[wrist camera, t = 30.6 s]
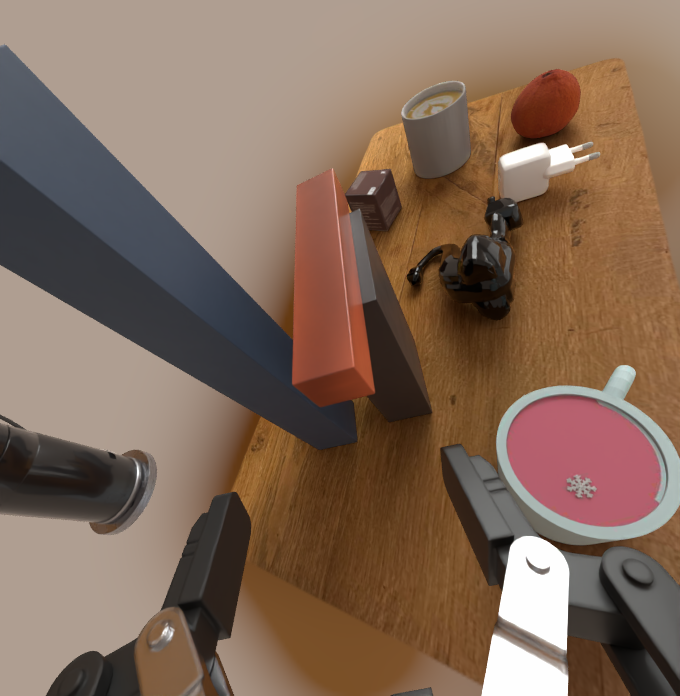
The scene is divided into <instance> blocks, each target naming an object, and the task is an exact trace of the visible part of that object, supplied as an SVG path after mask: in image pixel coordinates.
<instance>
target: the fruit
mask: <svg viewBox="0 0 680 696" xmlns="http://www.w3.org/2000/svg"><path fill="white" fill-rule="evenodd" d="M580 94H581V91H580V86H579V83H578V81H577V79H576V78H575V77H574V75H572V74H570V73H569V72H567V71H563V70H560V69H555V70H551V71H548V72H545V73H543V74H541V75H539V76H538V77H536V78H535V79H534V80H532V81H531V82H530V83H529V84H528V85H527V86H526V87H525V89H524V90H523V91H522V92H521V94H520V95H519V96H518V98H517V100H516V101H515V104H514V106H513V109H512V112H511V121H512V124H513V127H514V129H515V130H516V132H517V133H518V134H519V135H522V136H524V137H527V138H541V137H545V136H549V135H552V134H554V133H556V132H558V131H560V130H562V129H563V128H564V127H565V126H566V125H567V124H568V123H569V121H570V120H571V119H572V118H573V117H574V115H575V114H576V112H577V110H578V107H579V102H580Z"/></svg>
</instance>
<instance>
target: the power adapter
mask: <svg viewBox="0 0 680 696" xmlns="http://www.w3.org/2000/svg"><path fill="white" fill-rule="evenodd" d="M592 146H593V142H588V143H585V144H582V145H579V146H576V147H573V148H568V146H567V145H566V144H565V145H562V146H559V147H555V148H552V149H549V150H548V148H547V146H546V144H545V143H538V144H535V145H532V146H528V147H525V148H522V149H519V150H517V151H514V152H511V153H508V154H506V155H503V156H502V157H501V158H500V159H499V161H498V189H499V194H500V197H501V199H502V198H511V199H513V200H515V202H518V201H522V200H525V199H529V198H532V197H536V196H539V195H542V194H543V193H545V192H546V191H547V189H548V185H549V179H550V178H552V177H555V176H558V175H562V174H565V173H568V172H572V171H573V170H574V169H575V165H577V164H579V163H582V162H586V161H590V160H593V159H596V158H598V157H599V156H600V153H599V152H596V153H593V154H589V155H587V156H584V157H581V158H576V159H574V156H573V155H572V153H574V152H578V151H581V150H585V149H588V148H591V147H592Z"/></svg>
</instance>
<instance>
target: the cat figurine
mask: <svg viewBox="0 0 680 696" xmlns="http://www.w3.org/2000/svg"><path fill="white" fill-rule="evenodd" d="M484 219H485V221H486V223H487V226H488V228H489V231H490V237H488V236H486V235H481V234H475V235H471V236H470V237H469V238H468V239H467V240H466V242H465V243H464V245H463V246H462V249H461V250H460V248H459V247H458V246H457V245H456V244H444V245H441V246H438V247H436V248H434V249H432V250H431V251H430V252H429V253H428V254H427V255H426V256H425V257H424V258H423V259H422V260H421V261H420V262H419V263H418V265H417V266H416V267H414V268H412V269H411V270H410V271H409V273H408V274H407V279H408V281H409V283H410V284H411V286H415V285H418V284H420V283H421V281H422V275H423V267H424V266H425V265H426V264H427V263H428V262H429V260H431V259H432V258H433V257H434V256H436V255H438V254H442V257H441V261H440V267H439V278H440V283H441V285H442V287H443V288H444V290H445V292H446V294H447V295H448V297H450V298H451V299H453V300H454V301H455V302H458V303H472V304H473V305H474V306H475V307H476V308H477V310H478V311H479V313H480V314H482V315H483V316H485V317H487V318H489V319H493V320H501V319H503V318H504V317H505V316H506V315H507V314H508V313H509V311H510V308H511V307H510V305H511V303H512V302H513V300H514V295H515V286H516V285H515V280H514V273H515V267H516V254H515V251H514V249H513V247H512V246H511V244H510V243H509V242H510V239H511V231H512V230H515V229H517V228H519V227H521V226H522V225H523V218H522V214H521V212H520V209H519V207H518V205H517V203H516V202H515V200H513V199H511V198H502V199H499V200H497V201H495V197H493V196H492V197H490V198H488V200H487V209H486V212H485V217H484Z"/></svg>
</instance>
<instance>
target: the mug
mask: <svg viewBox="0 0 680 696" xmlns="http://www.w3.org/2000/svg"><path fill="white" fill-rule="evenodd" d="M635 376H636V373H635V370H634V369H633V368H632V367H630V366H627V365H621V366H618V367H617V368H616V369H615V371H614V372H613V374H612V376H611V377H610V379H609V381H608V382H607V384H606V386H605V388H604V389H603V391H599V390H595V389H591V388H585V387H579V386H554V387H548V388H543V389H540V390H536V391H534V392H531V393H529V394H527V395H525V396H523V397H522V398H520V399H519V400H517V401H516V402H515V403H514V404H513V405H512V406H511V407H510V408H509V409H508V410H507V412H506V413H505V414H504V416H503V418H502V420H501V422H500V425H499V428H498V432H497V440H496V446H497V463H498V475H499V477H500V479H501V480H502V481H503V483H504V484H505V486H506V488H507V490H508V491H509V492H510V494H511V495H512V497H513V498H514V500H515V501H516V503H517V504H518V506H519V507H520V509H521V511H522V512H523V514H524V515H525V517H526V518H527V520H528V521H529V523H530V524H531V526H532V527H533V529H534V530H535V531H536V532H537V533H539V534H541V535H542V536H545V537H547V538H549V539H551V540H554V541H557V542H561V543H565V544H570V545H591V544H597V543H604V542H610V541H617V540H623V539H630V538H635V537H639V536H642V535H645V534H648V533H650V532H652V531H654V530H656V529H658V528H659V527H661V526H662V525H664V524H665V523H666V522H667V521H668V520H669V519H670V518H671V517H672V516H673V515H674V513H675V512H676V510H677V508H678V507H679V504H680V459H679V456H678V454H677V452H676V450H675V448H674V446H673V444H672V443H671V441H670V440H669V438H668V437H667V435H666V434H665V433H664V432H663V431H662V429H661V428H660V427H659V426H658V425H657V424H656V423H655V422H654V421H653V420H652V419H650V418H649V417H648V416H647V415H646V414H644V413H643V412H642V411H640V410H639V409H638V408H636V407H634V406H633V405H631V404H630V403H628V402H626V401H624V400H623V399H624V398H625V396H626V394H627V392H628V390H629V388H630V387H631V385H632V383H633V380H634V378H635Z"/></svg>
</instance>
